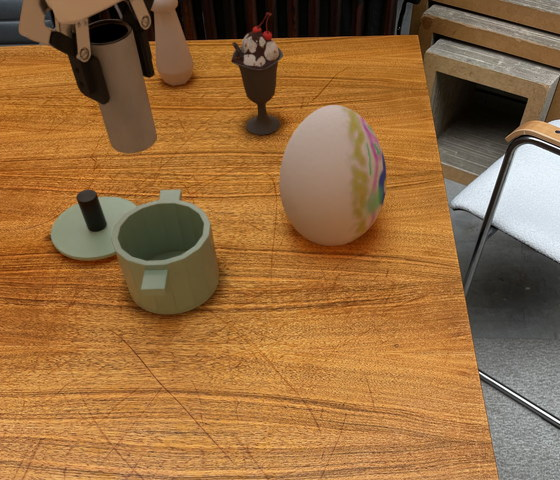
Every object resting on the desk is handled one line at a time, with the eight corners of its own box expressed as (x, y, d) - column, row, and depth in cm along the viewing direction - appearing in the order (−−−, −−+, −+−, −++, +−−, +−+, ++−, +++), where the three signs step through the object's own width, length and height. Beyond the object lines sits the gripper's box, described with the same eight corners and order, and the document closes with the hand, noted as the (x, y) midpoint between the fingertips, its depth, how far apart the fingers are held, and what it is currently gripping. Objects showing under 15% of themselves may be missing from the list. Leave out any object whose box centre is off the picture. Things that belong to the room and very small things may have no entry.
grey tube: (101, 141, 62) (67, 32, 54) (140, 121, 64) (113, 13, 55) (127, 160, 60) (96, 50, 51) (166, 140, 61) (142, 30, 53)
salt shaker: (202, 73, 101) (188, -16, 91) (184, 91, 98) (168, 1, 88) (170, 66, 103) (153, -21, 92) (152, 84, 100) (132, -5, 89)
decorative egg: (389, 254, 74) (402, 139, 62) (284, 262, 74) (277, 149, 62) (375, 188, 81) (383, 74, 69) (279, 196, 82) (272, 83, 70)
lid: (44, 266, 76) (26, 229, 72) (64, 204, 83) (49, 168, 78) (138, 262, 75) (126, 225, 71) (151, 201, 82) (141, 164, 78)
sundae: (295, 120, 92) (291, 10, 80) (268, 143, 89) (260, 33, 77) (258, 107, 94) (248, -1, 82) (231, 130, 91) (217, 21, 79)
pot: (118, 334, 69) (99, 285, 63) (139, 236, 78) (124, 185, 72) (213, 332, 68) (203, 282, 62) (223, 233, 78) (215, 182, 72)
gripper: (109, -212, 48) (159, 36, 62) (-93, -150, 41) (17, 115, 55) (179, -201, 45) (214, 58, 59) (-27, -131, 37) (71, 144, 52)
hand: (118, 83), depth 57 cm, fingers closed on grey tube, 4 cm apart
